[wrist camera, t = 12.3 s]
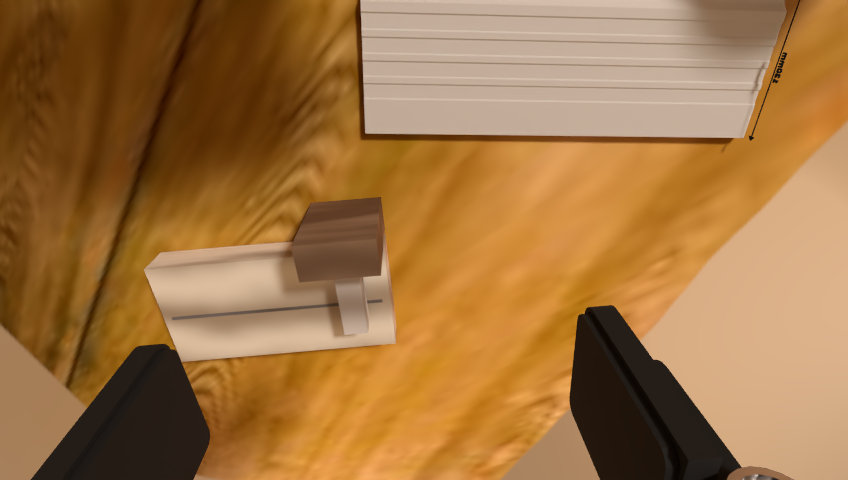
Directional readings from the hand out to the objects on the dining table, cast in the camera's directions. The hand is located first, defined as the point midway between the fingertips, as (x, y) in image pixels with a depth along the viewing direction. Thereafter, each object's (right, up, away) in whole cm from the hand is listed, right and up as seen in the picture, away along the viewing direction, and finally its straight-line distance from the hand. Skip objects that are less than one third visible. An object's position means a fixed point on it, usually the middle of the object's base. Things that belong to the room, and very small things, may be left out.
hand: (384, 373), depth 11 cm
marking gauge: (-5, +2, +30) cm, 31 cm away
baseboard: (+12, +18, +24) cm, 32 cm away
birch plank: (-12, -2, +32) cm, 34 cm away
